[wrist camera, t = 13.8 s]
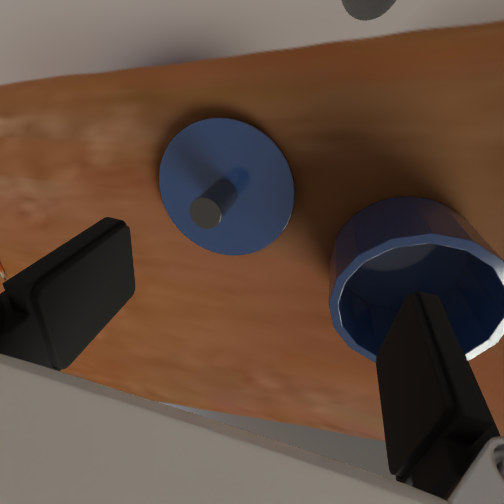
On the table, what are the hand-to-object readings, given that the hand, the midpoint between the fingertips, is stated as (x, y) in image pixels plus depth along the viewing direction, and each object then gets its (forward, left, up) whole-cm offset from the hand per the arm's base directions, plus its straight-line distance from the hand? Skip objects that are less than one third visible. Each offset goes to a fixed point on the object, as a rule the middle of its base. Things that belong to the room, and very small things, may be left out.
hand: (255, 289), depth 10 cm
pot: (+9, +11, -23) cm, 27 cm away
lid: (+5, -8, -22) cm, 24 cm away
